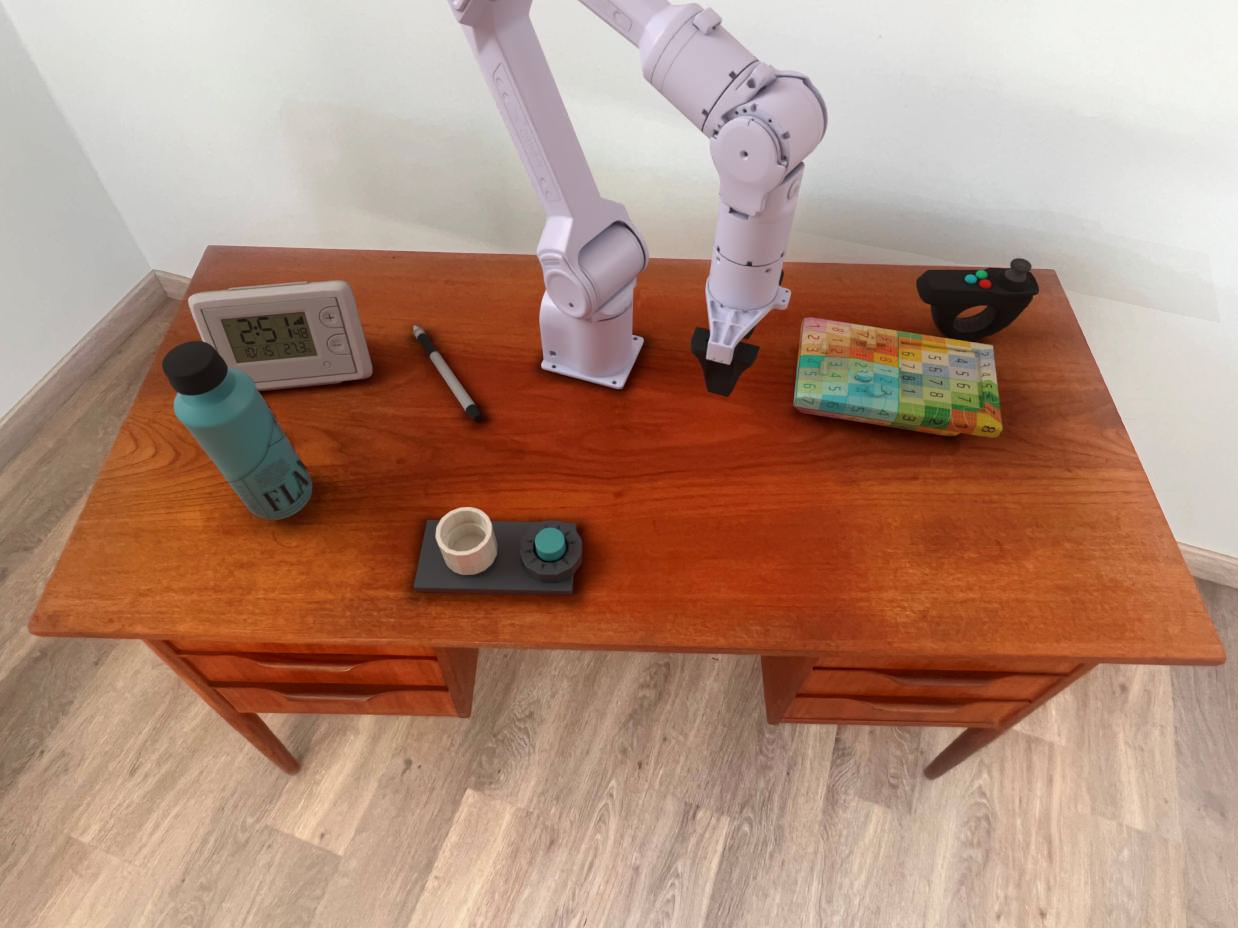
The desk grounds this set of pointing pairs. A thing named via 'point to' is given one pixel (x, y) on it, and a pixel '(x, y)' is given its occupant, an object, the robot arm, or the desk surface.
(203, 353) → the beverage bottle
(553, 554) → the tare button
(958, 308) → the controller
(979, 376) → the puzzle game
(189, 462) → the desk surface
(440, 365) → the pen
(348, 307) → the digital clock
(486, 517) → the white cup
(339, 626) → the desk surface
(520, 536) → the grey dial base
